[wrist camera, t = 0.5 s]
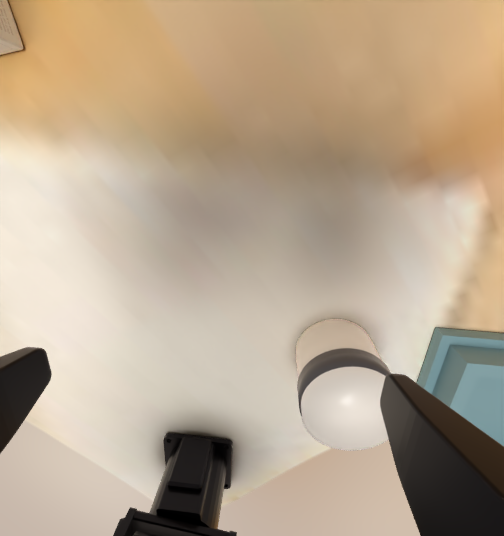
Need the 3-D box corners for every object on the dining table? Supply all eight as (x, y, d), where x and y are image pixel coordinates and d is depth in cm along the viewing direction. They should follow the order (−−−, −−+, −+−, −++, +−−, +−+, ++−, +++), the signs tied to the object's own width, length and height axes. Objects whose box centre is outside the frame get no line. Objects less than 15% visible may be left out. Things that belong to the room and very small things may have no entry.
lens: (365, 385, 23) (393, 456, 18) (290, 378, 24) (295, 445, 18) (381, 321, 21) (419, 379, 16) (298, 314, 22) (306, 368, 16)
